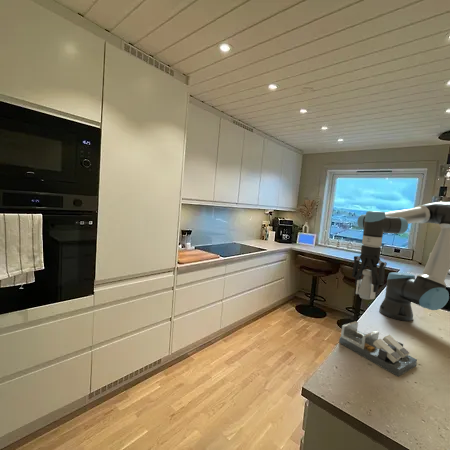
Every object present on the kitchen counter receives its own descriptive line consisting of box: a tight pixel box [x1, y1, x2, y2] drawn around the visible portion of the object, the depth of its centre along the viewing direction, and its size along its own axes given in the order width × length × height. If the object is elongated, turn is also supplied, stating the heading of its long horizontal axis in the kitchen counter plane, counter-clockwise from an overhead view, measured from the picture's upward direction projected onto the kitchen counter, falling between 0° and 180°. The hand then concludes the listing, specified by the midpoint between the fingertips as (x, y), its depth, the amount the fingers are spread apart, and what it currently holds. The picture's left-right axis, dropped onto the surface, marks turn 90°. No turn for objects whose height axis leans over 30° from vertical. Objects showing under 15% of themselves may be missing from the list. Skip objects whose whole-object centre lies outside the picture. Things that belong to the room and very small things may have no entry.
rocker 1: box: [373, 338, 401, 363], centre depth 91 cm, size 4×8×2 cm, turn 31°
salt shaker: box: [358, 268, 373, 301], centre depth 114 cm, size 6×6×13 cm
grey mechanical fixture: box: [338, 321, 418, 377], centre depth 97 cm, size 13×22×8 cm, turn 31°
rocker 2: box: [381, 334, 410, 358], centre depth 94 cm, size 4×8×2 cm, turn 31°
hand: (365, 295), depth 115 cm, fingers closed on salt shaker, 6 cm apart
